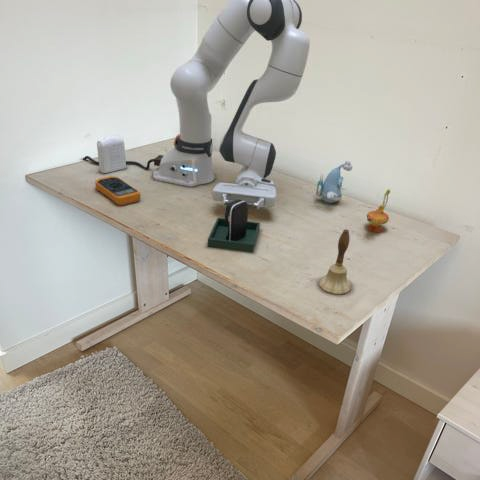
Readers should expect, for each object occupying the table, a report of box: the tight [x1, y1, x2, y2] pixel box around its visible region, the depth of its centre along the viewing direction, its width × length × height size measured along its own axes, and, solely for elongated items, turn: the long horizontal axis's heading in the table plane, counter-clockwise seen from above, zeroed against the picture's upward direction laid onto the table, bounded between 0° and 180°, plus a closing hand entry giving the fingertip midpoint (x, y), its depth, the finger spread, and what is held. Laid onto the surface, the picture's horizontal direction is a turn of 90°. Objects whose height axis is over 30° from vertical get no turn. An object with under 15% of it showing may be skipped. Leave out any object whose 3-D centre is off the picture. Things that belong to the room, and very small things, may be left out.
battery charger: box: [224, 199, 249, 241], centre depth 144 cm, size 7×4×11 cm, turn 139°
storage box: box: [207, 217, 261, 253], centre depth 147 cm, size 13×14×3 cm
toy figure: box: [315, 160, 353, 204], centre depth 168 cm, size 17×10×15 cm, turn 168°
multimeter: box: [94, 175, 142, 206], centre depth 167 cm, size 9×18×3 cm, turn 40°
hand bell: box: [318, 229, 352, 295], centre depth 125 cm, size 8×8×16 cm
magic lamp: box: [366, 188, 391, 233], centre depth 154 cm, size 7×18×11 cm, turn 149°
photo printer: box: [96, 135, 127, 174], centre depth 181 cm, size 10×4×12 cm, turn 134°
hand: (240, 205), depth 151 cm, fingers open, 8 cm apart
